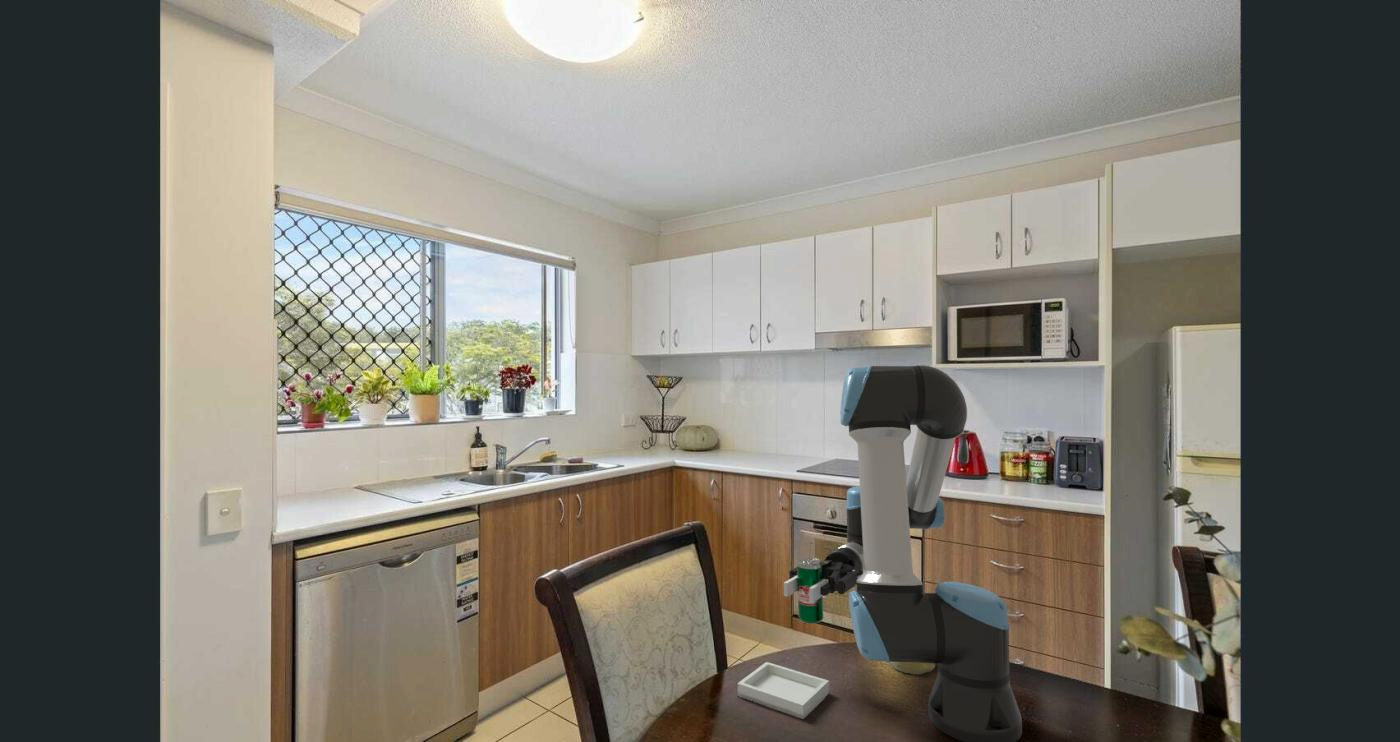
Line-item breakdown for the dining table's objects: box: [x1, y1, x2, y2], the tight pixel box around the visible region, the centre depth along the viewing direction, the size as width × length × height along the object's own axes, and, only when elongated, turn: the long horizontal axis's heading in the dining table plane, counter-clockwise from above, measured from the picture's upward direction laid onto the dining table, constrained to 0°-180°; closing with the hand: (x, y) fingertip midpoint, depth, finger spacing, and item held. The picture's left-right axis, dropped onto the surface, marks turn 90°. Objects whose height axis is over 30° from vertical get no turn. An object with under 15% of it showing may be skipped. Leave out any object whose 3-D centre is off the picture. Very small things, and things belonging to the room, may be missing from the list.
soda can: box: [796, 557, 824, 625], centre depth 126 cm, size 5×5×12 cm
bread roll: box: [889, 662, 936, 675], centre depth 130 cm, size 8×9×4 cm
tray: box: [737, 661, 830, 720], centre depth 119 cm, size 14×11×2 cm
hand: (798, 592), depth 121 cm, fingers closed on soda can, 5 cm apart
